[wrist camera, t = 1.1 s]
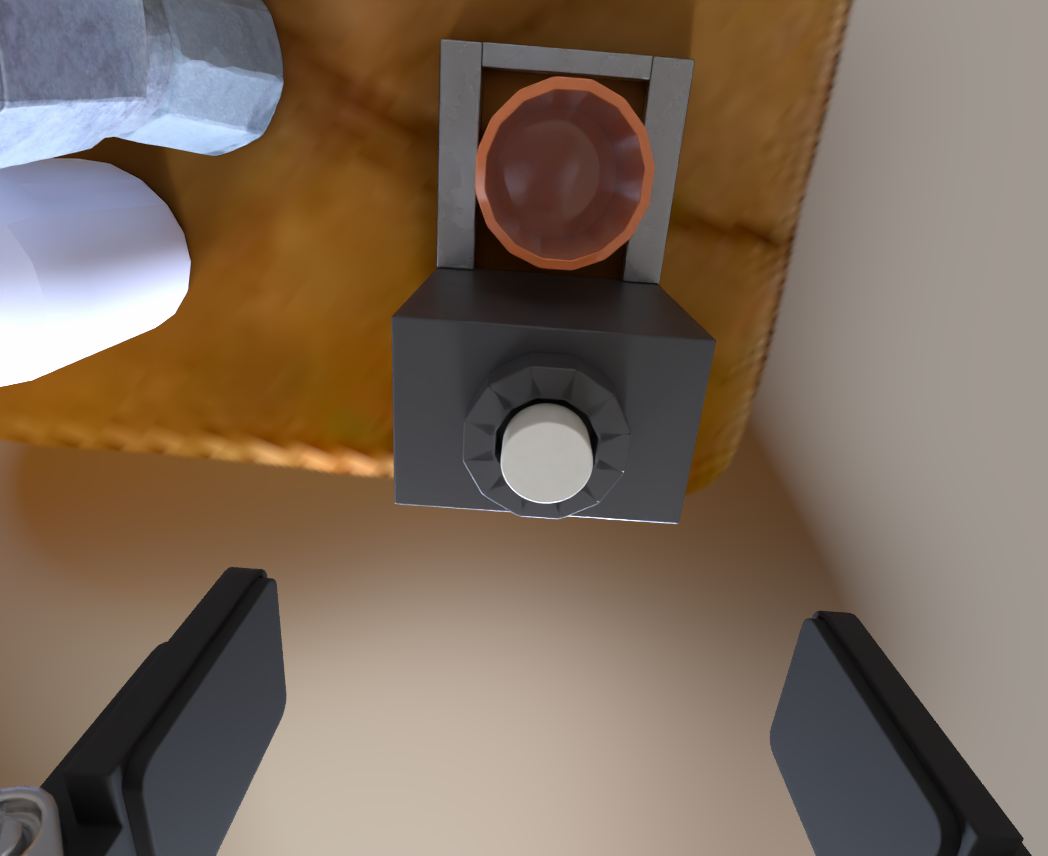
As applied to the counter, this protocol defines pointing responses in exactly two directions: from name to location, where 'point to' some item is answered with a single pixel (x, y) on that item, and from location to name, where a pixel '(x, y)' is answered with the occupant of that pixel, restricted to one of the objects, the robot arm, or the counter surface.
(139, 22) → the moka pot
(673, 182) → the cup bay
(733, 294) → the counter surface
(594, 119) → the cup
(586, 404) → the grey box with dial
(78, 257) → the soap bottle
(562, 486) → the brew button
